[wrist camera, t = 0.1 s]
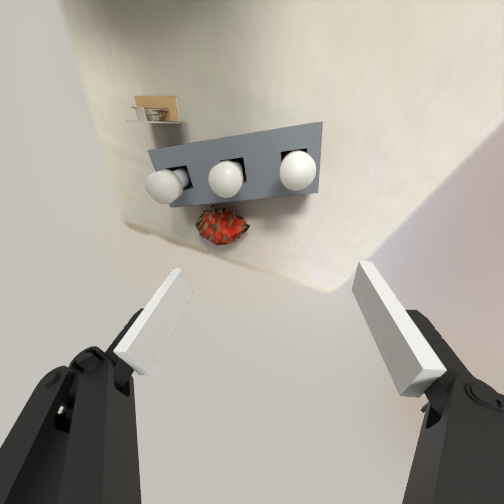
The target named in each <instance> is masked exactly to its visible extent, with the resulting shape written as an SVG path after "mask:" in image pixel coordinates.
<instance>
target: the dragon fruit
mask: <svg viewBox="0 0 504 504" xmlns="http://www.w3.org/2000/svg"><path fill="white" fill-rule="evenodd" d="M212 206H213V207H214V208H215V210H214V211H213V212H212V213H211V212H209V211H208V210H205V211H204V214H201V216H200V217H199V218H198V221H197V222H196V224H195V225H196V228H197V229H198V231H199V232H200V235H201V236H202V237H203V238H205V237H206V239H207V240H210V241H212V242H213V243H214V244H215V245H226V244H229V243H232V242H235V241H236V239H238V238H239V237H240V235H241V234H243V233H244V232H246V231H247V230H248V228H249V227H250V224H249V225H248V224H246V222H245V220H244V218H243V217H240V216H237V218H236V217H234V215H235V213H236V209H235V206H233V205H231V208H232V209H233V212H232V213H228V210H227V209H226V208H222V209H217V207H216V206H214V205H212ZM212 206H211V207H212ZM211 207H210V208H211ZM246 227H247V228H246Z"/></svg>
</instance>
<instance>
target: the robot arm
mask: <svg viewBox="0 0 504 504" xmlns="http://www.w3.org/2000/svg"><path fill="white" fill-rule="evenodd" d="M352 291H353V294H354V296H355V298H356V300H357V302H358V305H359V307H360V309H361V311H362V313H363V315H364V317H365V320H366V322H367V324H368V327H369V329H370V331H371V333H372V335H373V338H374V339H375V342H376V344H377V346H378V349H379V351H380V353H381V355H382V357H383V360H384V362H385V364H386V366H387V368H388V371H389V373H390V375H391V377H392V379H393V382H394V384H395V386H396V388H397V390H398V392H399V395H400V396H406V397H420V396H421V395H422V394H423V393H425V395H426V397H427V398H428V400H429V402H428V403H427V404H426V405H424V406H423V407H422V409H421V411H422V412H425V415H424V419H423V423H422V427H421V431H420V435H419V439H418V443H417V447H416V451H415V455H414V459H413V463H412V467H411V471H410V475H409V479H408V483H407V487H406V490H405V494H404V499H403V503H402V504H504V395H502V394H499V393H497V392H496V391H495V390H494V389H493V388H492V387H490V386H489V385H487V384H486V383H484V382H483V381H481V380H478V379H476V378H475V377H474V376H473V375H472V374H471V373H470V372H469V371H468V370H467V368H466V367H465V366H464V365H463V363H462V362H461V361H460V359H459V358H458V357H457V356H456V354H455V353H454V352H453V350H452V349H451V348H450V347H449V346H448V344H447V343H446V342H445V340H444V339H442V337H441V335H440V334H439V333H438V331H437V330H435V327H434V326H433V325H432V324H431V322H430V321H429V320H428V319H427V318H426V317H425V316H424V315H422V314H421V313H420V312H418V311H417V310H405V309H404V308H403V306H402V305H401V303H400V302H399V301H398V300H397V298H396V296H395V295H394V293H393V292H392V291H391V289H390V288H389V286H388V285H387V283H386V282H385V280H384V279H383V278H382V276H381V275H380V273H379V272H378V270H377V269H376V267H375V266H374V265H373V263H372V262H371V261H359V262H358V266H357V271H356V275H355V279H354V283H353V287H352ZM192 293H193V290H192V288H191V286H190V284H189V281H188V279H187V277H186V275H185V273H184V271H183V268H174V269H173V270H172V271H171V273H170V274H169V275H168V277H167V278H166V280H165V281H164V282H163V284H162V285H161V286H160V288H159V289H158V291H157V292H156V293H155V295H154V296H153V297H152V299H151V300H150V301H149V303H148V304H147V305H146V307H145V308H144V309H140V310H139V311H138V312H137V313H135V314H134V315H133V317H132V318H131V319H130V320H129V322H128V324H126V326H125V327H124V329H123V330H122V331H121V332H120V334H119V335H118V336H117V338H116V339H115V340H114V341H113V343H112V344H111V345H110V347H109V348H108V349H107V351H106V352H105V353H104V352H103V351H102V350H101V349H100V348H98V347H96V346H94V347H89V348H87V349H85V350H83V351H82V352H80V353H79V354H78V355H77V356H76V357H75V358H74V359H73V360H72V362H71V363H70V365H69V368H68V367H66V366H60V367H57V368H55V369H53V370H52V371H50V372H49V373H48V374H46V375H45V376H44V377H43V378H42V379H41V380H40V382H39V383H38V385H37V386H36V388H35V389H34V391H33V393H32V395H31V397H30V398H29V400H28V402H27V403H26V405H25V407H24V408H23V410H22V412H21V414H20V415H19V417H18V419H17V421H16V422H15V424H14V426H13V427H12V429H11V431H10V433H9V434H8V436H7V438H6V439H5V441H4V443H3V445H2V446H1V448H0V504H141V490H140V475H139V459H138V444H137V429H136V414H135V399H134V384H133V383H134V382H133V377H132V376H131V375H132V373H133V372H134V371H136V372H137V373H138V374H139V375H148V376H150V375H151V374H152V372H153V369H154V368H155V366H156V364H157V362H158V360H159V358H160V356H161V354H162V352H163V350H164V348H165V346H166V344H167V342H168V340H169V338H170V336H171V334H172V332H173V330H174V329H175V327H176V325H177V323H178V321H179V319H180V317H181V315H182V312H183V311H184V309H185V307H186V305H187V303H188V301H189V299H190V297H191V295H192ZM60 406H62V407H64V408H63V410H62V412H61V414H58V411H59V408H60Z"/></svg>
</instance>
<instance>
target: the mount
mask: <svg viewBox="0 0 504 504" xmlns="http://www.w3.org/2000/svg"><path fill="white" fill-rule="evenodd" d="M322 126H323V122H315V123H309V124H303V125H297V126H291V127H285V128H279V129H273V130H267V131H260V132H254V133H248V134H242V135H236V136H230V137H224V138H218V139H212V140H206V141H200V142H194V143H188V144H182V145H176V146H170V147H164V148H159V149H153V150H148V153H149V156H150V158H151V161H152V163H153V165H154V168H155V170H156V172H157V171H160V170H163V169H166V170H170V171H172V172H173V171H175V170H177V169H180V168H182V166H185V165H186V166H187V169H188V172H189V175H190V178H191V182H192V183H190V184H189V185H187V186H185V187H184V188H183V192H182V194H181V196H180V197H178V198H177V199H176V200H174V201H173V202H172V203H169V205H170V207H181V206H191V205H201V204H211V203H222V202H232V201H242V200H252V199H262V198H272V197H282V196H292V195H302V194H312V193H318V185H319V170H320V156H321V141H322ZM298 149H303V152H306V153H307V154H308V155H309V156H310V157H311V158H312V159H313V160H314V162H315V165H316V174H315V177H314V179H313V181H312V182H311V184H310V185H309V186H307V187H306V188H304V189H302V190H298V191H294V190H290V189H288V188H286V187H285V186H284V185H283V183H282V182H281V179H280V165H281V152H283V151H291V150H298ZM241 157H243V159H244V166H245V173H246V176H243V184H242V186H241V188H240V189H239V191H238V192H237V194H236V195H234V196H232V197H229V198H223V197H220V196H218V195H217V194H215V193H214V192H213V190H212V189H211V187H210V185H209V180H208V178H209V173H210V171H211V169H212V168H213V167H214V166H215V165H217V164H219V163H220V162H222V161H229V159H234V158H241Z"/></svg>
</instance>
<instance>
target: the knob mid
mask: <svg viewBox="0 0 504 504" xmlns="http://www.w3.org/2000/svg"><path fill="white" fill-rule="evenodd" d="M243 173H244V168H243V166H242V164H241V163H240V162H238V161H222V162H220V163H219V164H217V165H215V166H214V167H213V168H212V169H211V171H210V173H209V178H208V180H209V185H210V187H211V189H212V190H213V192H214V193H215V194H217V195H218V196H220V197H223V198H229V197H232V196H234V195H236V194H237V192H238V191H239V189H240V188H241V186H242V184H243Z"/></svg>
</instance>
